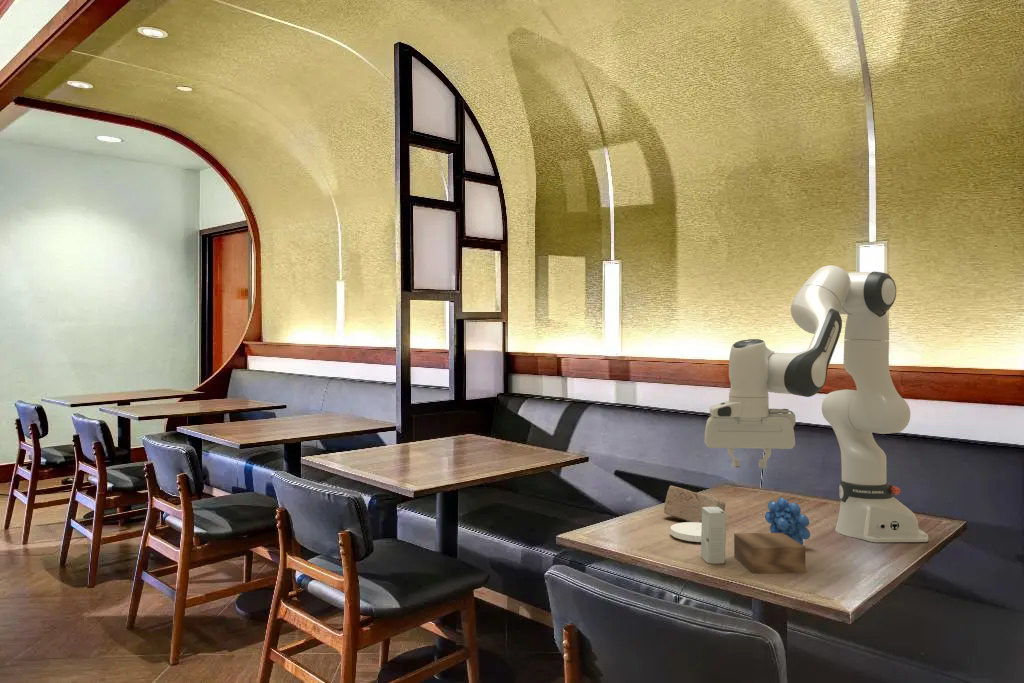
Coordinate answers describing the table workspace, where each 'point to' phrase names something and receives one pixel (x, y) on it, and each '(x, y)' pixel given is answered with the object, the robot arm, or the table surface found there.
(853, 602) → the table surface
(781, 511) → the grapes
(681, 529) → the plastic lid
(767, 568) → the walnut block
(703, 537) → the skincare box
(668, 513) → the brick
